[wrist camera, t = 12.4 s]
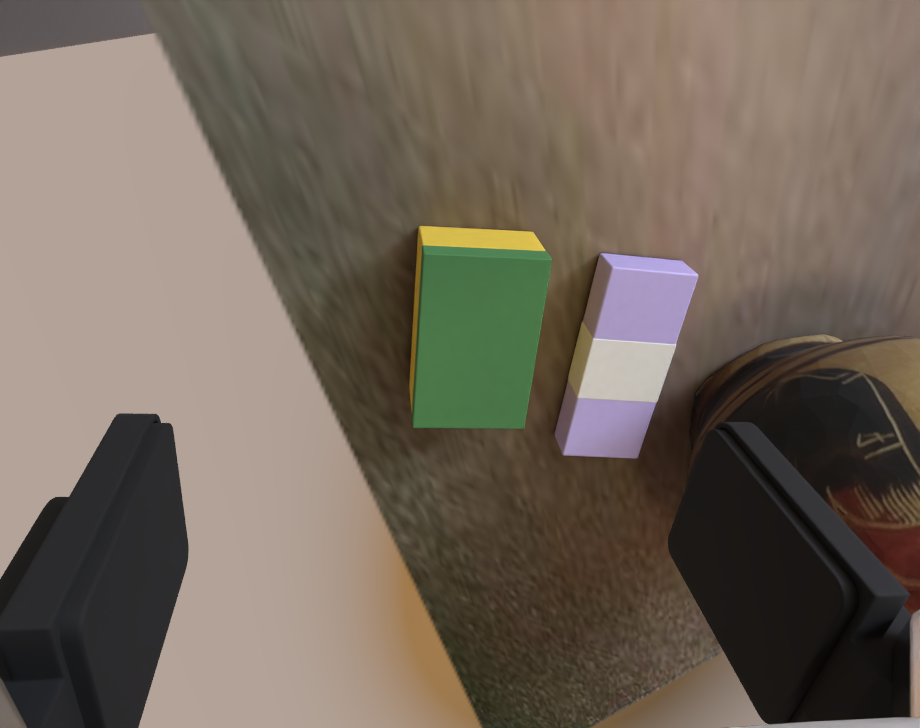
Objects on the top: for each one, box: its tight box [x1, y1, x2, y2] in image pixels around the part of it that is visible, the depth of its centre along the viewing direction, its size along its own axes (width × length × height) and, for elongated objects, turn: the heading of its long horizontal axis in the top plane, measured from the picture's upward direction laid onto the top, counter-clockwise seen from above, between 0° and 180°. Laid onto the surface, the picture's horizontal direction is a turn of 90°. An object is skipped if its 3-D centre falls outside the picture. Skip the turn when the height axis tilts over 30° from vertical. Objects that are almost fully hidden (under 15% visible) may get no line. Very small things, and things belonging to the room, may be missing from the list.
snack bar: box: [555, 253, 698, 458], centre depth 31 cm, size 10×4×2 cm, turn 172°
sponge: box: [409, 226, 552, 429], centre depth 28 cm, size 8×5×4 cm, turn 175°
